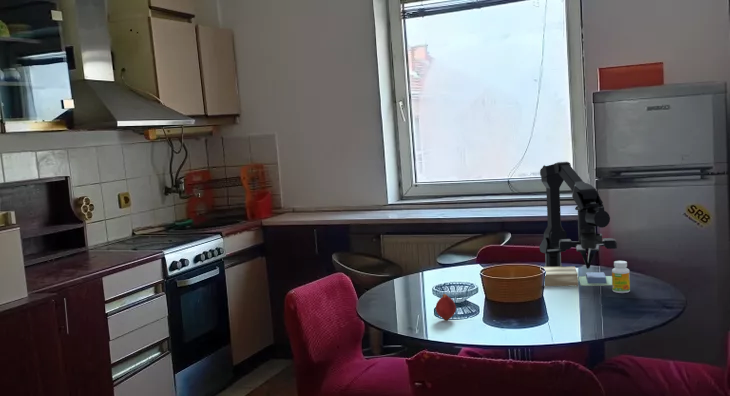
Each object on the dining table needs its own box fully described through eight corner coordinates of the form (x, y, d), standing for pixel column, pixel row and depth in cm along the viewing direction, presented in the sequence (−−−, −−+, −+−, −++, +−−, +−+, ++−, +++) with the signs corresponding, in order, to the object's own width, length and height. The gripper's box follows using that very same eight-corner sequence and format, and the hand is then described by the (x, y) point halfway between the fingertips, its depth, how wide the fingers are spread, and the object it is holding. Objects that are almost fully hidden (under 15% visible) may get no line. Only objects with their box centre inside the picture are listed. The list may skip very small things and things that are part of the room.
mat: (578, 277, 250) (578, 276, 250) (613, 276, 247) (613, 276, 247) (580, 285, 237) (580, 284, 237) (618, 285, 234) (618, 284, 234)
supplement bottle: (612, 293, 225) (612, 263, 224) (612, 289, 230) (611, 260, 229) (630, 293, 223) (629, 263, 222) (629, 289, 228) (628, 260, 227)
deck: (540, 277, 253) (540, 266, 252) (575, 277, 250) (574, 266, 250) (541, 286, 240) (541, 274, 240) (577, 285, 237) (577, 274, 237)
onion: (443, 316, 210) (442, 290, 209) (460, 318, 206) (458, 292, 206) (432, 321, 206) (431, 294, 205) (449, 324, 202) (448, 297, 201)
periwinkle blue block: (603, 272, 245) (603, 277, 245) (585, 272, 246) (586, 278, 247) (606, 277, 237) (606, 283, 237) (587, 277, 239) (587, 283, 239)
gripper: (559, 228, 235) (561, 273, 237) (618, 226, 231) (619, 273, 232) (558, 223, 246) (559, 266, 247) (614, 221, 241) (615, 266, 243)
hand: (588, 268), depth 242 cm, fingers closed
